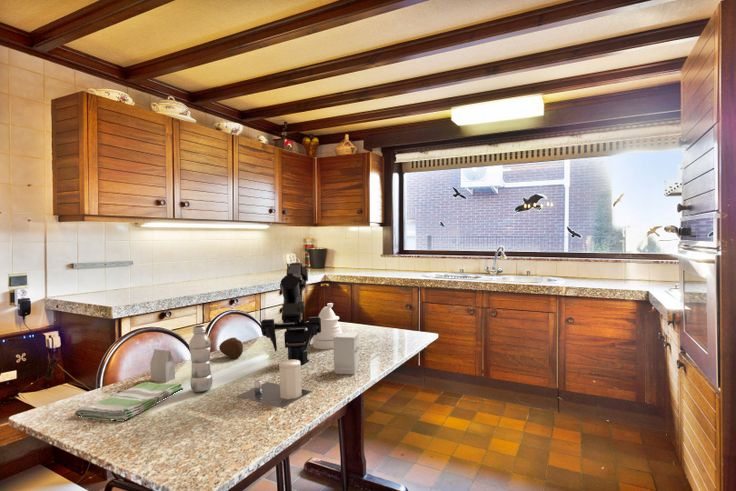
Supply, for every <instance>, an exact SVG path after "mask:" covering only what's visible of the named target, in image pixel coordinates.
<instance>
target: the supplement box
mask: <svg viewBox="0 0 736 491" xmlns="http://www.w3.org/2000/svg"><path fill="white" fill-rule="evenodd" d="M359 349H360V348H359V332H342V333H338V334H337V335H336V336H335V337H334V348H333V373H334V374H335V375H336V374H337V375H355V374H356V372H357V371H358V369H359V368H360V356H359V355H360V354H359V353H360V352H359Z"/></svg>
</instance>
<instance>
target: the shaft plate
mask: <svg viewBox="0 0 736 491" xmlns="http://www.w3.org/2000/svg"><path fill="white" fill-rule="evenodd" d="M310 393H313V391H312V390H308V389H304V388H302V395H301V396H299V397H297V398H294V399H284V398H281V396H280V383H274V382H269V381H267V382H266V381H265V382H264V383H262V379H255V380H254V387H253V388H251V389H249V390H246V391H245V392H242V393H240V394H238V395H236V396H235V397H237V398H241V399H245V400H248V401H252V402H256V403H257V402H258V403H262V404H265V405H269V406H272V407H277V408H281V409H284V408H285V407H287V406H289V405H291V404H292V403H294V402H297V401H298V400H300V399H301V398H303V397H305V396H307V395H309V394H310Z"/></svg>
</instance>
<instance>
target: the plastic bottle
mask: <svg viewBox="0 0 736 491" xmlns="http://www.w3.org/2000/svg"><path fill="white" fill-rule="evenodd" d="M192 330H193V331H192V334H193V335H192V337H191V338H190V341H189V344H188V349H189V353H190V361H191V376H190V381H189V382H190V384H189V385H190V389H191V390H192V392H195V393H203V392H206V391H209V390H210V389H211V388H212V387H213V383H214V382H213V376H212V371H211V364H210V363H211V362H210V360H211V357H210V356H211V346H212V341H211V339H210V338H209V336H208V335H207V334H206V332H207V329H206V325H204V324H201V325H194V326H193V327H192Z"/></svg>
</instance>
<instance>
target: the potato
mask: <svg viewBox="0 0 736 491" xmlns="http://www.w3.org/2000/svg"><path fill="white" fill-rule="evenodd" d="M218 349H219V351H220V352H221V353H222V354H223V355H224V356H225V357H228V358H230V359H238V358H240V357H241V355H243V353H244V352H243V351H244V345H243V342H242V341H241V340H239V339H238V338H236V337H229V338H227V339H225V340H224V341H222V342H221V343H220V344H219V346H218Z"/></svg>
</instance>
